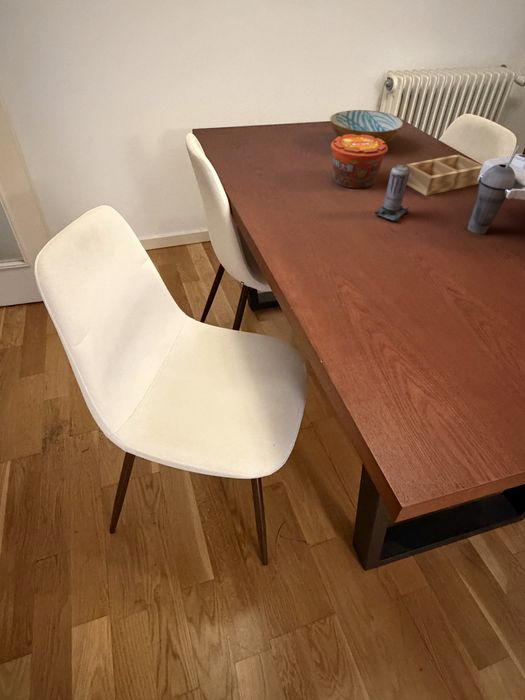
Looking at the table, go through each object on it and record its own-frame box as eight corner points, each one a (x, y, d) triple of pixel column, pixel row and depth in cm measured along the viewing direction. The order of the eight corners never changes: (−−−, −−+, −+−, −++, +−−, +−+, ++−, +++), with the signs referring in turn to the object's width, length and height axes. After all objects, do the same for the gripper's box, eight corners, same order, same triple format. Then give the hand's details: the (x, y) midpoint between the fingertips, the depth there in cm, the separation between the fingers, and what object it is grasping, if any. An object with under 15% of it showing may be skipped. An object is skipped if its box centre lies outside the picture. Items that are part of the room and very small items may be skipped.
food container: (345, 195, 113) (351, 155, 106) (317, 174, 124) (321, 137, 116) (391, 186, 118) (400, 147, 111) (360, 167, 128) (367, 130, 121)
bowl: (314, 147, 141) (316, 122, 135) (346, 129, 156) (349, 106, 150) (381, 163, 131) (387, 136, 125) (408, 142, 146) (414, 117, 140)
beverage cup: (466, 219, 104) (499, 136, 89) (495, 228, 101) (535, 143, 87) (457, 230, 100) (491, 145, 85) (488, 239, 97) (528, 152, 82)
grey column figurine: (380, 205, 109) (391, 159, 101) (409, 211, 107) (422, 164, 98) (371, 219, 103) (382, 171, 95) (401, 226, 101) (415, 178, 93)
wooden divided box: (452, 170, 127) (458, 154, 124) (479, 183, 120) (485, 166, 117) (400, 181, 121) (405, 164, 117) (425, 195, 114) (431, 178, 110)
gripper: (568, 210, 91) (519, 219, 87) (503, 176, 104) (459, 182, 101) (584, 182, 86) (534, 190, 83) (514, 150, 100) (468, 156, 97)
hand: (492, 186), depth 92 cm, fingers closed on beverage cup, 7 cm apart
